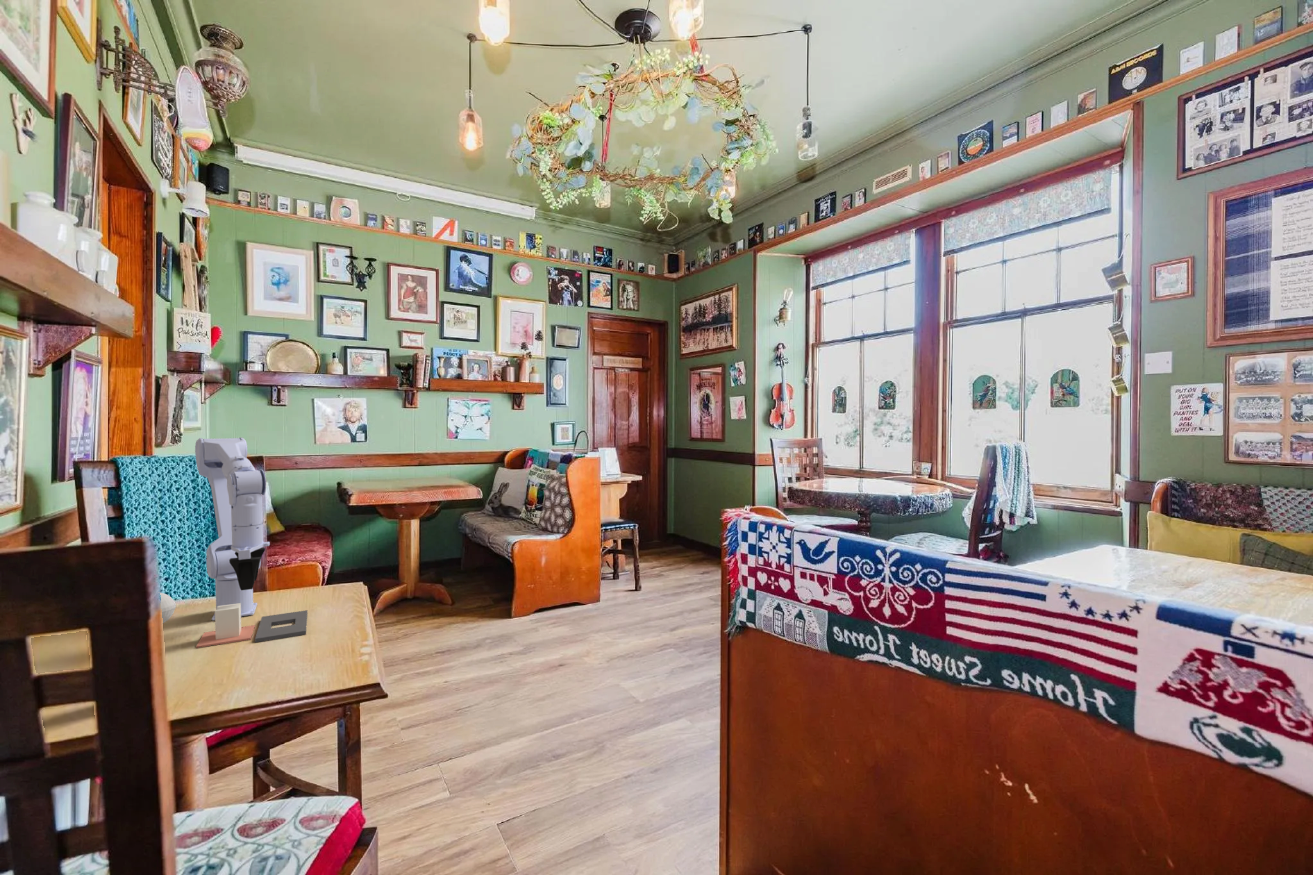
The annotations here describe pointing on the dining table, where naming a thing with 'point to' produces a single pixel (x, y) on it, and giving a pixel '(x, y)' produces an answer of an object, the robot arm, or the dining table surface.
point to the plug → (228, 621)
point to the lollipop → (167, 606)
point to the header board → (282, 632)
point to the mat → (210, 638)
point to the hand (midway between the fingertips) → (248, 585)
